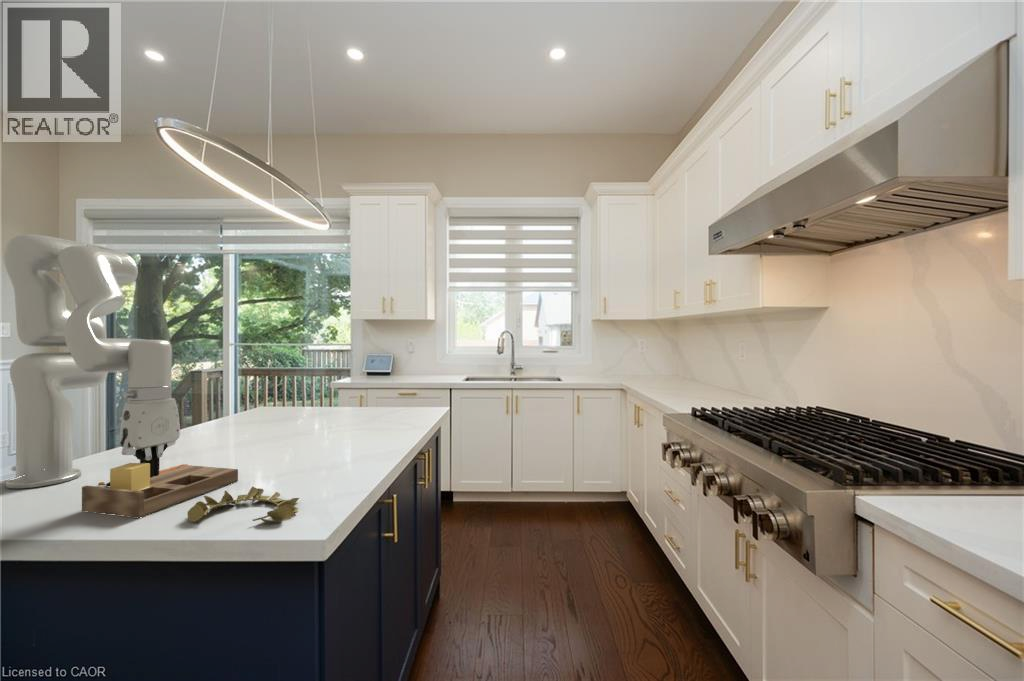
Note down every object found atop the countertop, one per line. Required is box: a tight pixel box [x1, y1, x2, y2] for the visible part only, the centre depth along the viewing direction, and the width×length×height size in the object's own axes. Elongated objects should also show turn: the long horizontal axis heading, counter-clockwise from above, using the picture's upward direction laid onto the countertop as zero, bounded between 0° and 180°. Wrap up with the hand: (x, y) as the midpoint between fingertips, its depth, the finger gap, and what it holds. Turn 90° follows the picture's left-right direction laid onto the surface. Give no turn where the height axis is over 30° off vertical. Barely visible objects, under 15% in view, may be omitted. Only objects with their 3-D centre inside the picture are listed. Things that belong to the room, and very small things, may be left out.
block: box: [109, 462, 150, 491], centre depth 92 cm, size 4×4×5 cm
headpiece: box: [187, 486, 300, 524], centre depth 89 cm, size 21×4×15 cm
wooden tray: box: [81, 464, 239, 519], centre depth 97 cm, size 15×23×5 cm, turn 167°
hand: (149, 476), depth 97 cm, fingers closed
